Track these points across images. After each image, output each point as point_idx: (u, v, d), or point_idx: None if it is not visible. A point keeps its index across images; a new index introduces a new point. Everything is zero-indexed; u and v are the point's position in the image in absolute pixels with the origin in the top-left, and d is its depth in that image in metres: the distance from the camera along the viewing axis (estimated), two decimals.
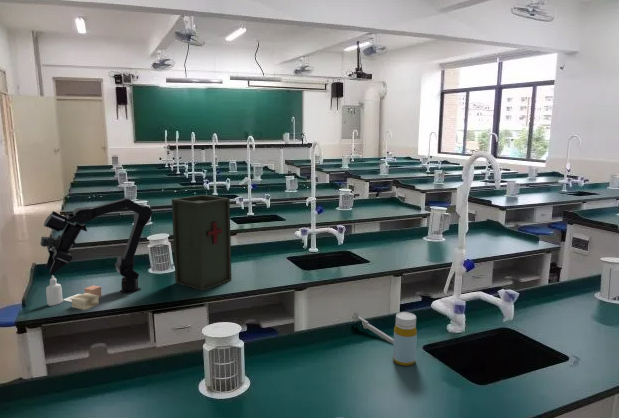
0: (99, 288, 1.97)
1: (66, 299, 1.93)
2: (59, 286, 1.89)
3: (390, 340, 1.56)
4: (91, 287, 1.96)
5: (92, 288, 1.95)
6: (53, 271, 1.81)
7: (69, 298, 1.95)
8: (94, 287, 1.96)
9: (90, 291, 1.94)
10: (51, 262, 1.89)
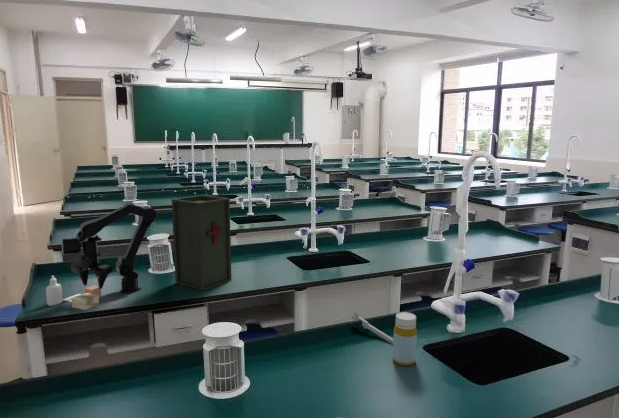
0: None
1: (66, 299, 1.93)
2: (59, 286, 1.89)
3: (390, 340, 1.56)
4: (91, 287, 1.96)
5: (92, 288, 1.95)
6: (102, 285, 1.94)
7: (69, 298, 1.95)
8: (94, 287, 1.96)
9: (90, 291, 1.94)
10: (85, 279, 1.98)
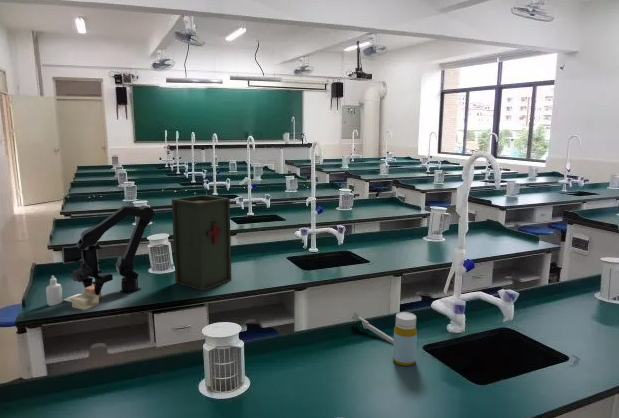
0: None
1: (66, 299, 1.93)
2: (59, 286, 1.89)
3: (390, 340, 1.56)
4: (91, 287, 1.96)
5: (92, 288, 1.95)
6: (98, 292, 1.95)
7: (69, 298, 1.95)
8: None
9: (90, 291, 1.94)
10: None
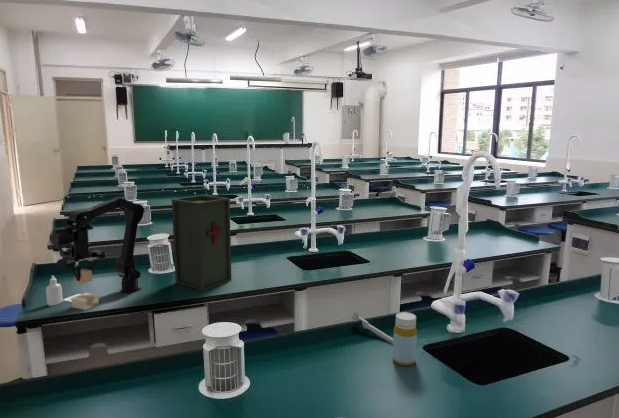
0: None
1: (66, 299, 1.93)
2: (59, 286, 1.89)
3: (390, 340, 1.56)
4: (83, 270, 1.86)
5: None
6: (77, 278, 1.83)
7: (69, 298, 1.95)
8: (82, 271, 1.85)
9: None
10: None
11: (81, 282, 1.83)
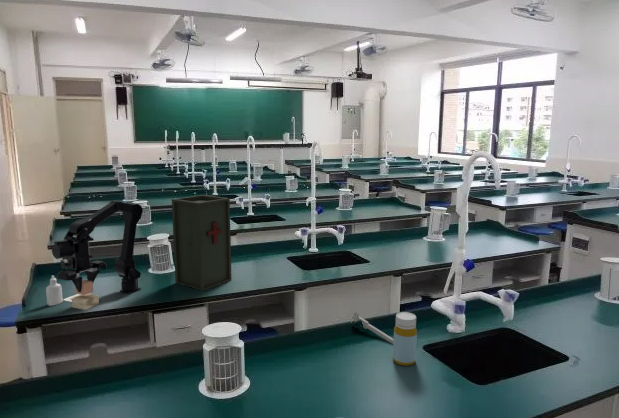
0: None
1: (66, 299, 1.93)
2: (59, 286, 1.89)
3: (390, 340, 1.56)
4: (84, 281, 1.86)
5: None
6: (78, 289, 1.83)
7: (69, 298, 1.95)
8: (83, 282, 1.85)
9: None
10: None
11: (82, 293, 1.84)
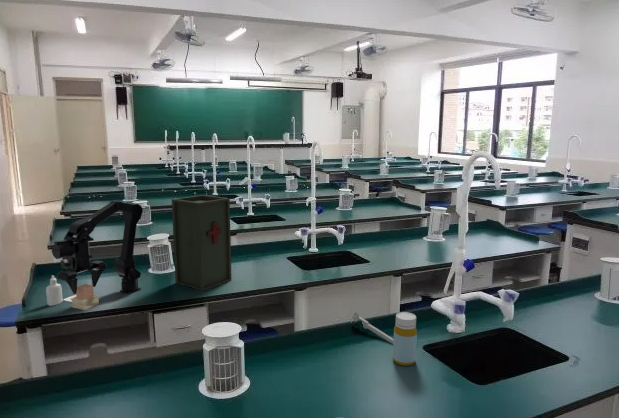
0: (82, 290, 1.83)
1: (66, 299, 1.93)
2: (59, 286, 1.89)
3: (390, 340, 1.56)
4: (85, 285, 1.87)
5: (80, 286, 1.86)
6: (73, 291, 1.81)
7: (69, 298, 1.95)
8: (83, 287, 1.85)
9: None
10: (94, 280, 1.90)
11: (83, 298, 1.84)
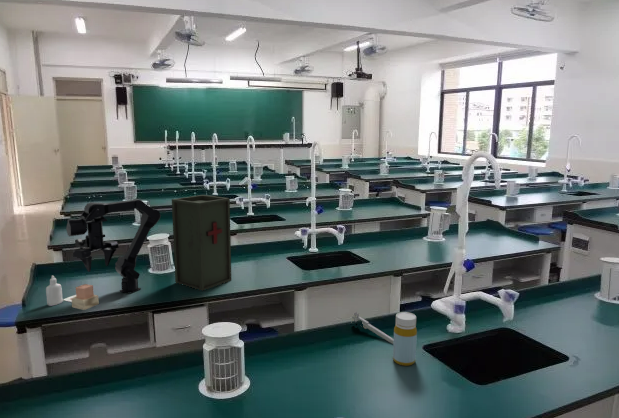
0: (82, 289, 1.84)
1: (66, 299, 1.93)
2: (59, 286, 1.89)
3: (390, 340, 1.56)
4: (85, 285, 1.87)
5: (80, 286, 1.86)
6: (88, 268, 1.89)
7: (69, 298, 1.95)
8: (83, 287, 1.85)
9: None
10: (107, 259, 1.98)
11: (83, 298, 1.84)
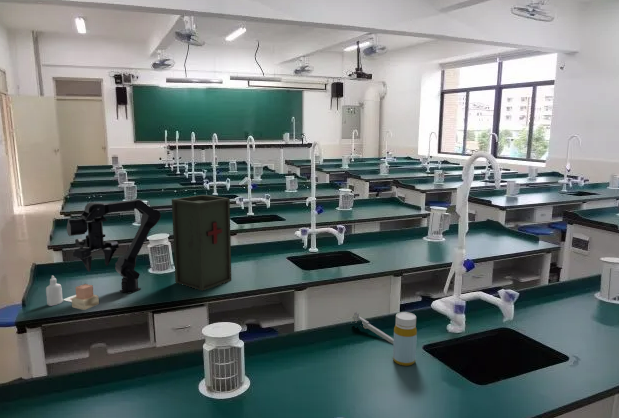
0: (82, 289, 1.84)
1: (66, 299, 1.93)
2: (59, 286, 1.89)
3: (391, 340, 1.56)
4: (85, 285, 1.87)
5: (80, 286, 1.86)
6: (88, 268, 1.89)
7: (69, 298, 1.95)
8: (83, 286, 1.85)
9: None
10: (107, 259, 1.98)
11: (83, 298, 1.84)
